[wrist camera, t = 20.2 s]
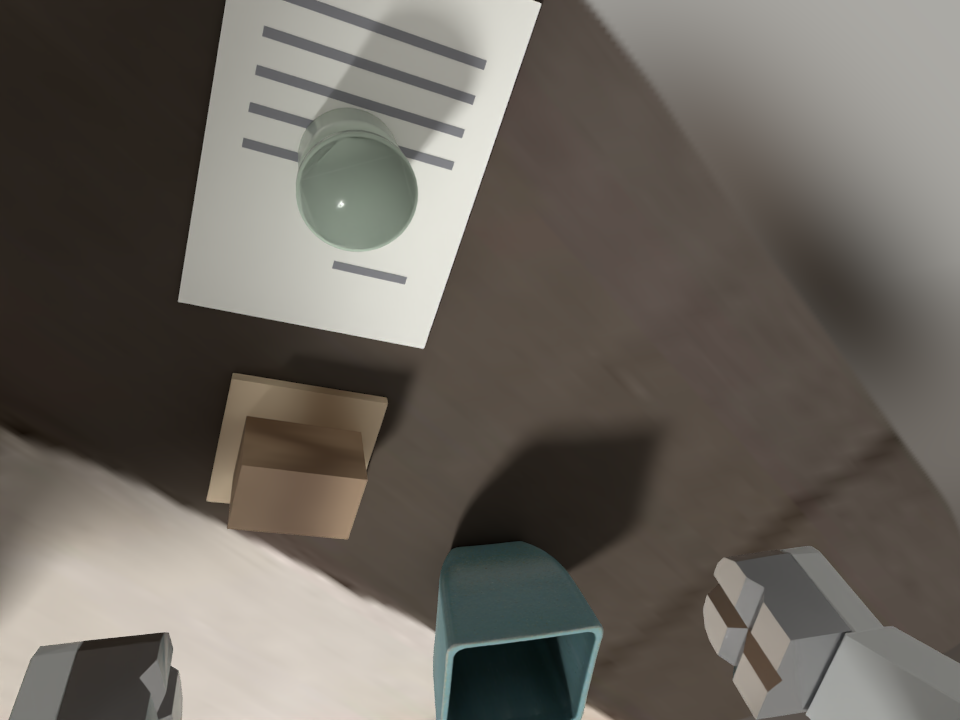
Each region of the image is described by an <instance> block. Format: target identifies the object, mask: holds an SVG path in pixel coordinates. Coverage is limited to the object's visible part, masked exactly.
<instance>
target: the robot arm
mask: <svg viewBox="0 0 960 720" xmlns="http://www.w3.org/2000/svg"><path fill="white" fill-rule="evenodd" d="M714 576H715V577H716V579H717V580H718V582H719V584H718V585H717V586H716V587H715V588H714V589H712V590H711V591H710V592H709V593H708V594H707V597H706V601H705V604H704V608H703V614H704V623H705V629H706V631H707V634H708V637H709V640H710V642H711V644H712V645H713V647H714V649H715V651H716V653H717V654H718V655H719V656H720V657H722V658H723V659H725V660H726V661H728V662H729V663H730V664H732V665H733V666H734V671H733V682H734V684H735V685H736V687H737V689H738V690H739V692H740V694H741V695H742V697H743V699H744V700H745V702H746V704H747V706H748V707H749V709H750V711H751V712H752V714H753V716H754V717H755V719H763V718H769V717H776V716H782V715H788V714H795V713H801V712H807V713H806V716H808V717H809V718H810V719H811V720H960V664H959V663H958V662H956V661H954V660H952V659H950V658H949V657H947V656H945V655H943V654H941V653H940V652H938V651H936V650H934V649H933V648H931V647H929V646H927V645H925V644H924V643H922V642H920V641H918V640H916V639H915V638H913V637H911V636H909V635H907V634H906V633H904V632H902V631H900V630H899V629H897V628H895V627H893V626H888V627H883V626H882V624H881V623H880V622H879V621H878V620H877V618H876V617H875V616H874V615H873V614H872V613H871V611H870V610H869V609H868V608H867V607H866V606H865V604H864V603H863V602H862V601H861V600H860V599H859V597H858V596H857V595H856V594H855V593H854V591H853V590H852V589H851V588H850V587H849V586H848V584H847V583H846V582H845V581H844V580H843V579H842V577H841V576H840V575H839V574H838V573H837V571H836V570H835V569H834V568H833V567H832V566H831V564H830V563H829V562H828V561H827V560H826V559H825V557H824V556H823V555H822V554H821V553H820V552H819V551H818V550H816V549H815V548H813V547H811V546H806V547H798V548H791V549H783V550H771V551H765V552H758V553H751V554H744V555H737V556H731V557H724V558H723V559H722V560H721V561H720V562H719V563H718V564H717V567H716V570H715V573H714ZM172 653H173V646H172V643H171V639H170V636H169V633H166V632H164V633H155V634H145V635H136V636H126V637H117V638H108V639H98V640H89V641H82V642H73V643H65V644H56V645H48V646H40V647H39V649H38V650H37V652H36V653H35V654H34V656H33V657H32V658H31V660H30V663H29V665H28V668H27V671H26V674H25V676H24V679H23V682H22V684H21V687H20V690H19V693H18V695H17V698H16V701H15V704H14V706H13V709H12V712H11V715H10V717H9V720H182V688H181V680H180V676H179V671H178V670H177V669H175V668H174V667H172V666H170V665H171V659H172Z"/></svg>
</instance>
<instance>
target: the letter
mask: <svg viewBox="0 0 960 720" xmlns="http://www.w3.org/2000/svg"><path fill="white" fill-rule="evenodd" d="M540 7H541V3H539V2H536V1H534V0H226V3H225V10H224V16H223V22H222V28H221V35H220V41H219V47H218V53H217V60H216V66H215V72H214V78H213V85H212V91H211V97H210V104H209V110H208V116H207V122H206V129H205V135H204V141H203V147H202V154H201V160H200V166H199V172H198V179H197V185H196V191H195V197H194V204H193V210H192V216H191V223H190V229H189V235H188V241H187V248H186V254H185V260H184V266H183V273H182V279H181V285H180V291H179V298H178V302H181V303H187V304H192V305H197V306H202V307H208V308H213V309H218V310H223V311H229V312H234V313H239V314H244V315H250V316H255V317H260V318H265V319H270V320H276V321H281V322H286V323H291V324H297V325H302V326H307V327H312V328H318V329H323V330H328V331H333V332H338V333H344V334H349V335H354V336H359V337H365V338H370V339H375V340H380V341H386V342H391V343H396V344H401V345H407V346H412V347H417V348H422V349H424V347H425V344H426V341H427V338H428V335H429V332H430V329H431V326H432V323H433V321H434V318H435V315H436V312H437V309H438V306H439V303H440V300H441V297H442V294H443V291H444V288H445V285H446V282H447V279H448V277H449V274H450V271H451V268H452V265H453V262H454V259H455V256H456V253H457V250H458V247H459V244H460V241H461V238H462V236H463V233H464V230H465V227H466V224H467V221H468V218H469V215H470V212H471V209H472V206H473V203H474V200H475V197H476V195H477V192H478V189H479V186H480V183H481V180H482V177H483V174H484V171H485V168H486V165H487V162H488V159H489V156H490V153H491V151H492V148H493V145H494V142H495V139H496V136H497V133H498V130H499V127H500V124H501V121H502V118H503V115H504V112H505V110H506V107H507V104H508V101H509V98H510V95H511V92H512V89H513V86H514V83H515V80H516V77H517V74H518V71H519V69H520V66H521V63H522V60H523V57H524V54H525V51H526V48H527V45H528V42H529V39H530V36H531V33H532V30H533V27H534V25H535V22H536V19H537V16H538V13H539V10H540ZM338 108H356V109H361V110H364V111H367V112H369V113H371V114H373V115H375V116H376V117H377V118H379V119H380V120H381V121H382V122H383V123H385V125H386V126H387V127H388V128H389V129H390V131H391V132H392V134H393V136H394V138H395V140H396V142H397V144H398V146H399V148H400V150H401V151H402V152H403V154H404V155H405V156H406V158H407V159H408V161H409V163H410V165H411V167H412V169H413V171H414V174H415V177H416V180H417V186H418V202H417V207H416V211H415V213H414V216H413V218H412V220H411V222H410V224H409V225H408V227H407V228H406V230H405V231H404V232H403V233H402V234H401V235H400V236H399V237H398V238H396V239H395V240H394V241H392V242H391V243H389V244H387V245H385V246H383V247H381V248H378V249H375V250H371V251H364V252H351V251H345V250H341V249H338V248H335V247H333V246H330V245H328V244H327V243H325V242H323V241H322V240H321V239H319V238H318V237H317V236H316V235H315V234H314V233H312V232H311V230H310V229H309V228H308V227H307V225H306V224H305V222H304V220H303V219H302V217H301V214H300V212H299V209H298V205H297V200H296V178H297V173H298V149H299V144H300V140H301V138H302V136H303V133H304V132H305V130H306V128H307V127H308V126H309V125H310V123H311V122H312V121H314V120H315V119H316V118H317V117H319V116H320V115H321V114H323V113H325V112H327V111H330V110H333V109H338Z"/></svg>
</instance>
